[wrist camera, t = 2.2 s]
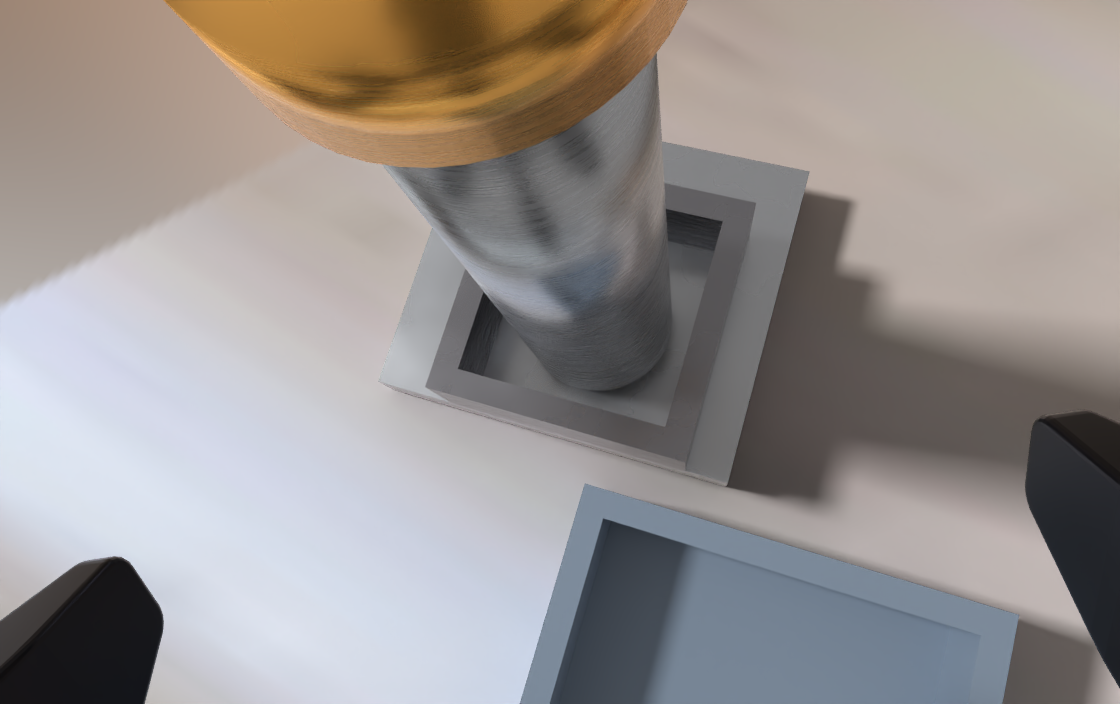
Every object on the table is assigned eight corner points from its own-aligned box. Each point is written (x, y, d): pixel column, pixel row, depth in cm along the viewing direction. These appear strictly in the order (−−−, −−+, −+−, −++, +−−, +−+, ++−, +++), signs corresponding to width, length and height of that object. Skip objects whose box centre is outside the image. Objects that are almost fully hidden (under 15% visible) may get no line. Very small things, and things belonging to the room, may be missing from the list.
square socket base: (802, 192, 21) (822, 131, 18) (725, 487, 20) (732, 476, 17) (486, 125, 23) (455, 61, 20) (394, 390, 21) (345, 364, 18)
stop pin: (714, 255, 20) (782, -436, 6) (664, 433, 19) (604, 125, 5) (539, 215, 21) (238, -463, 7) (484, 382, 20) (13, 5, 6)
